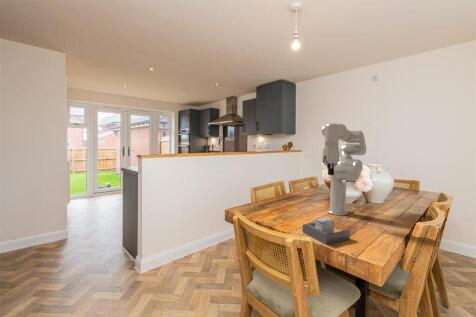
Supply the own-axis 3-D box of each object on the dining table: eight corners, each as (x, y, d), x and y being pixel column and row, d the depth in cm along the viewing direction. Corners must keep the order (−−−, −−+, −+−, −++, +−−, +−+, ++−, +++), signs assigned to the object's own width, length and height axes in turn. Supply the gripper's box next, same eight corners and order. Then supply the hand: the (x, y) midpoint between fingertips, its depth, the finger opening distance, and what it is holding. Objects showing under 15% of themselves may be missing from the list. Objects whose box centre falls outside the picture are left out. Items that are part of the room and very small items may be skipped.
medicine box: (326, 234, 114) (327, 217, 114) (333, 237, 110) (334, 219, 110) (314, 236, 111) (315, 219, 110) (321, 240, 107) (322, 222, 106)
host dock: (324, 227, 123) (324, 219, 122) (349, 239, 108) (350, 229, 108) (302, 232, 116) (302, 223, 116) (326, 244, 102) (326, 234, 102)
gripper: (335, 144, 142) (334, 173, 143) (317, 144, 135) (317, 174, 137) (345, 144, 135) (344, 174, 137) (327, 144, 129) (326, 176, 130)
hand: (330, 174), depth 137 cm, fingers closed
